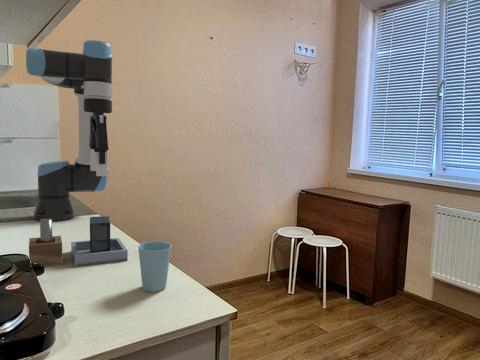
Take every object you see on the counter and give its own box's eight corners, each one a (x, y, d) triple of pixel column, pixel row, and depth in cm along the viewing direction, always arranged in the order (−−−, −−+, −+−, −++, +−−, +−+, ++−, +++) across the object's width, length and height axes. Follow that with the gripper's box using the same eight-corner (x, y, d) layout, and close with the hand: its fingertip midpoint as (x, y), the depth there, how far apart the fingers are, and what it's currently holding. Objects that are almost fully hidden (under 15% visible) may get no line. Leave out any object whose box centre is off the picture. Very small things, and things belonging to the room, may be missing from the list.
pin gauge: (41, 260, 109) (39, 218, 107) (52, 259, 110) (51, 218, 109) (41, 263, 106) (40, 221, 105) (53, 262, 108) (52, 220, 106)
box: (90, 250, 117) (89, 216, 116) (109, 249, 119) (109, 215, 118) (89, 258, 110) (89, 222, 109) (110, 257, 112) (110, 221, 111)
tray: (71, 251, 118) (71, 242, 117) (118, 246, 124) (118, 237, 124) (75, 266, 105) (74, 255, 105) (127, 260, 112) (127, 250, 111)
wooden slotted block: (30, 258, 110) (29, 238, 109) (60, 255, 114) (60, 235, 113) (29, 267, 103) (28, 246, 102) (62, 264, 106) (62, 243, 106)
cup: (154, 297, 88) (155, 252, 87) (131, 289, 92) (131, 246, 91) (176, 286, 94) (177, 245, 93) (153, 279, 98) (154, 239, 97)
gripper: (79, 100, 118) (80, 168, 121) (88, 94, 96) (89, 178, 99) (105, 101, 122) (105, 168, 124) (119, 96, 100) (119, 178, 102)
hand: (98, 173), depth 112 cm, fingers open, 13 cm apart
